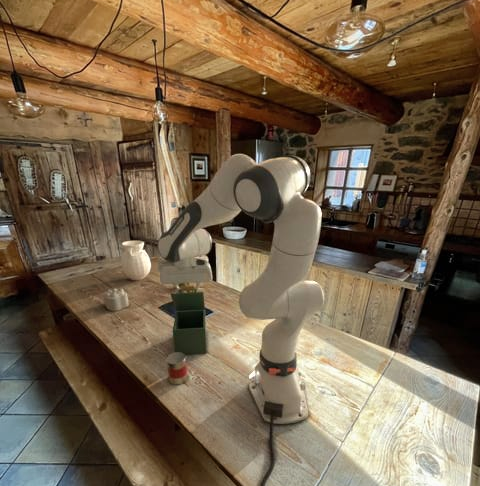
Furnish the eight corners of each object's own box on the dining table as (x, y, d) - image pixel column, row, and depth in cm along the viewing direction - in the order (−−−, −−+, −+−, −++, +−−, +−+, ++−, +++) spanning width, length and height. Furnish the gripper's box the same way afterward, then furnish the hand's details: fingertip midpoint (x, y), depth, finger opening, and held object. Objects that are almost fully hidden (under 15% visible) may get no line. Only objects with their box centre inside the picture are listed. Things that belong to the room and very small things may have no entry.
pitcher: (147, 283, 177) (141, 246, 166) (119, 282, 177) (112, 246, 167) (155, 273, 194) (151, 239, 184) (130, 273, 194) (124, 239, 184)
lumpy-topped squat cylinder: (113, 312, 140) (109, 297, 137) (101, 304, 148) (98, 290, 144) (131, 305, 148) (128, 291, 144) (119, 298, 155) (117, 284, 152)
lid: (203, 293, 103) (203, 282, 106) (170, 295, 102) (170, 284, 104) (204, 309, 118) (204, 299, 120) (176, 311, 117) (176, 301, 119)
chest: (206, 352, 109) (205, 328, 104) (175, 355, 108) (172, 330, 103) (206, 332, 123) (204, 309, 118) (178, 333, 122) (176, 311, 117)
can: (186, 383, 93) (184, 363, 90) (168, 385, 93) (165, 364, 89) (187, 371, 99) (186, 351, 96) (170, 372, 99) (167, 352, 95)
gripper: (155, 263, 98) (160, 297, 103) (211, 260, 100) (213, 294, 106) (158, 258, 104) (162, 290, 109) (211, 256, 106) (212, 287, 111)
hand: (188, 292), depth 107 cm, fingers closed on lid, 5 cm apart
